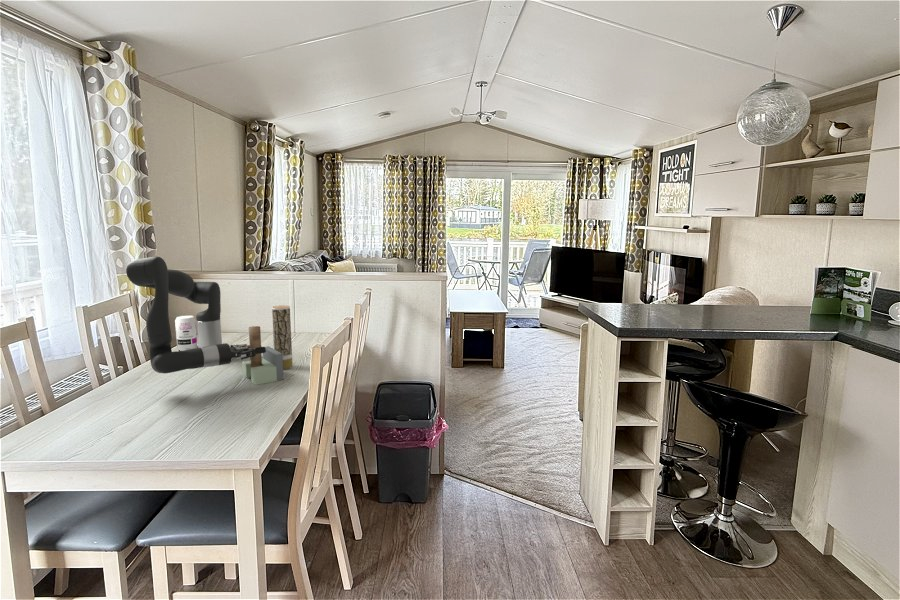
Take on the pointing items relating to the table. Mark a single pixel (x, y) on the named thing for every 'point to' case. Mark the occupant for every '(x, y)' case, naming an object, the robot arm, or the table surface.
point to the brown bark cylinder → (282, 333)
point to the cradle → (260, 372)
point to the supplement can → (186, 332)
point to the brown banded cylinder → (255, 345)
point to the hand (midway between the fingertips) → (262, 348)
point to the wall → (274, 360)
